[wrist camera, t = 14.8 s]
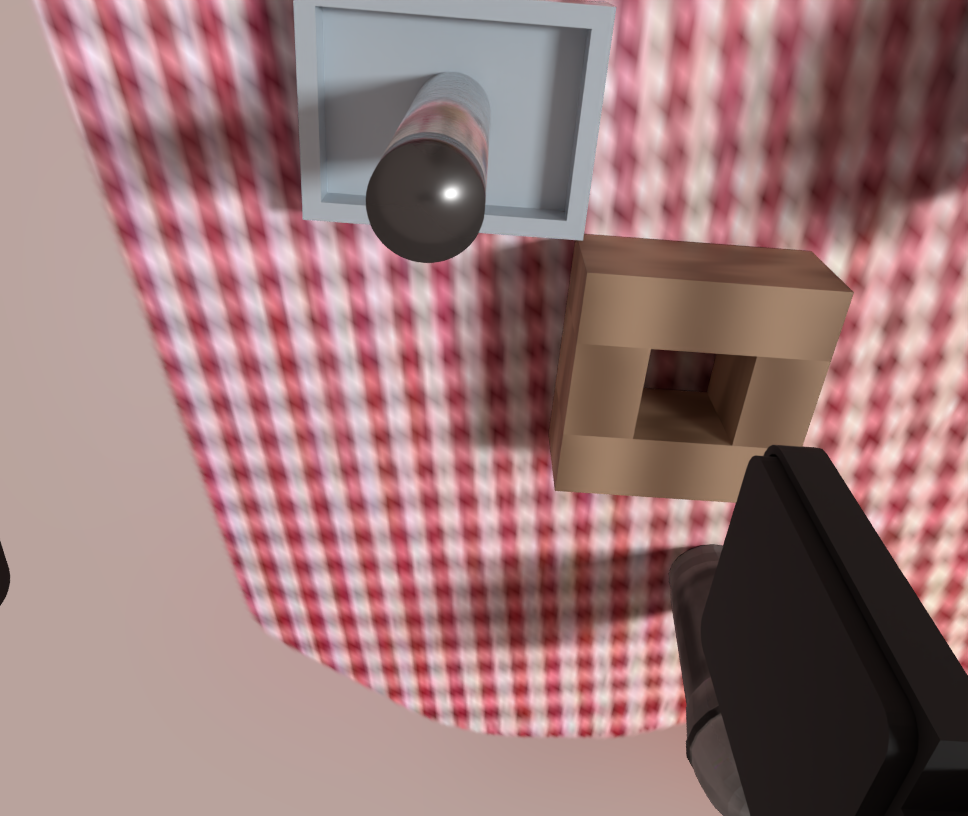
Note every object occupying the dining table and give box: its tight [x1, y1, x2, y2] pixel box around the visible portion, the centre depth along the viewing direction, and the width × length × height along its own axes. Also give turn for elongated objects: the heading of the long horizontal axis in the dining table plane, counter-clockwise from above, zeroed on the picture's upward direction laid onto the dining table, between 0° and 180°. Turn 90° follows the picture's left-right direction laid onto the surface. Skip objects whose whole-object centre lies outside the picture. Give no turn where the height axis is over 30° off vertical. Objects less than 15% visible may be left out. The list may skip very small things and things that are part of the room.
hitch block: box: [549, 234, 854, 503], centre depth 37 cm, size 11×11×5 cm
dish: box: [293, 0, 616, 241], centre depth 33 cm, size 12×9×2 cm
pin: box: [366, 72, 491, 263], centre depth 27 cm, size 3×3×14 cm
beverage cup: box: [669, 545, 750, 816], centre depth 38 cm, size 7×7×20 cm
